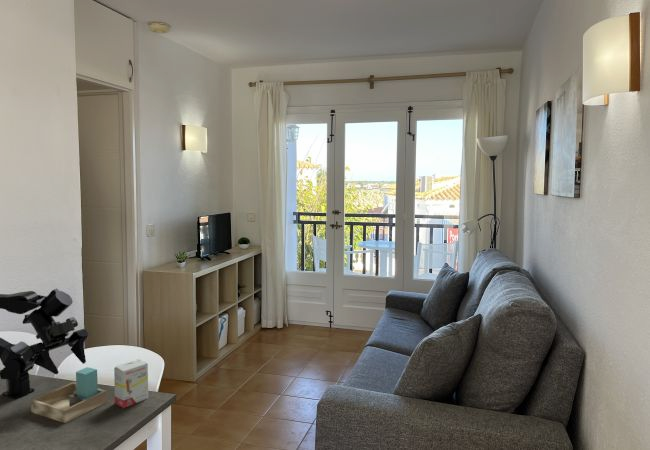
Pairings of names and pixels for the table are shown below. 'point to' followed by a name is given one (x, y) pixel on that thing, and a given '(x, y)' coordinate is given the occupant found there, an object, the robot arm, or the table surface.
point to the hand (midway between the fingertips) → (71, 368)
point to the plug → (86, 383)
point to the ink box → (131, 383)
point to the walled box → (66, 403)
